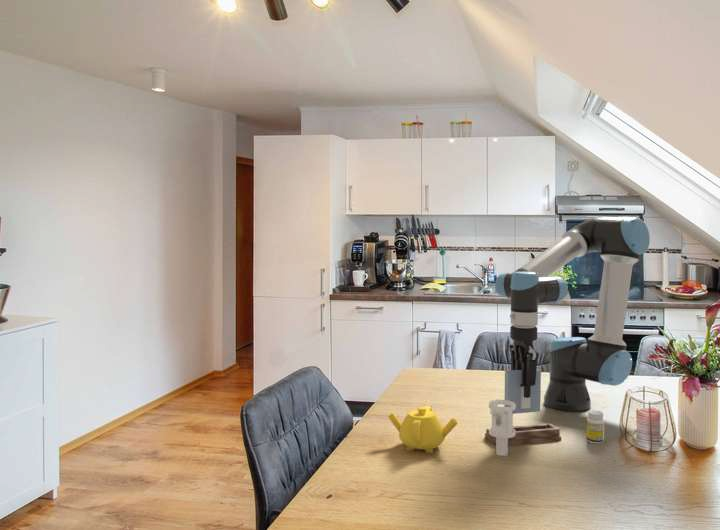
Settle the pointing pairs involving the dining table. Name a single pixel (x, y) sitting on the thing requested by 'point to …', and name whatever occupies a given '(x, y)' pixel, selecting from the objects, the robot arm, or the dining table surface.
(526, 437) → the track
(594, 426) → the supplement bottle
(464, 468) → the dining table surface
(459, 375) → the dining table surface
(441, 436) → the teapot
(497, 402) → the strainer
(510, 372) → the door panel
